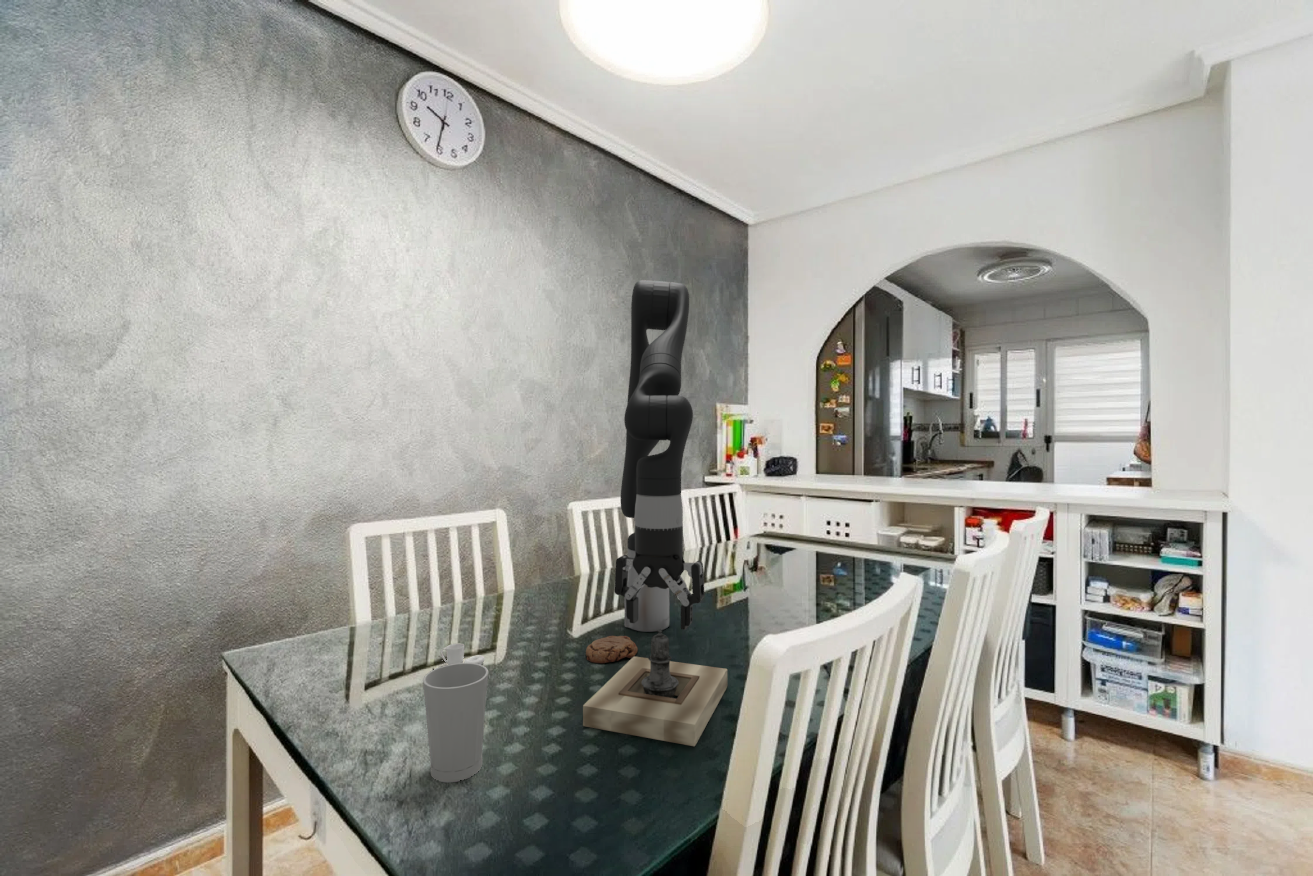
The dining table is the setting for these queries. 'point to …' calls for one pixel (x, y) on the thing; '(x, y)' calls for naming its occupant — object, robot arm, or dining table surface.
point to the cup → (455, 719)
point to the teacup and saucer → (459, 655)
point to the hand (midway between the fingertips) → (658, 624)
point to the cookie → (611, 649)
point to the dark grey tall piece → (660, 669)
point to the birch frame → (657, 703)
